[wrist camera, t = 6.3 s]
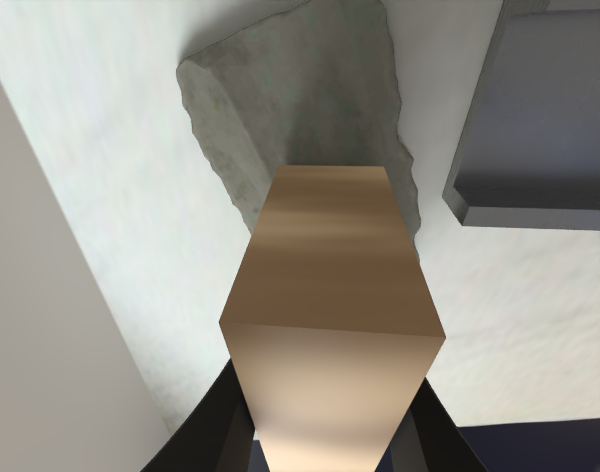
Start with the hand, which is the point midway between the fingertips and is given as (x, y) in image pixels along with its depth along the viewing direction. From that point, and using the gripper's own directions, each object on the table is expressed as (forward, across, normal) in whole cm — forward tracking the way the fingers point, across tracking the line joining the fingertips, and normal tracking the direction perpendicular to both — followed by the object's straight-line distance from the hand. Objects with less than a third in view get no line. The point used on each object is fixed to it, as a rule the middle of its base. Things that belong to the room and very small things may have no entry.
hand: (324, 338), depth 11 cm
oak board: (+5, 0, 0) cm, 5 cm away
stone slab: (+8, -1, 0) cm, 8 cm away
